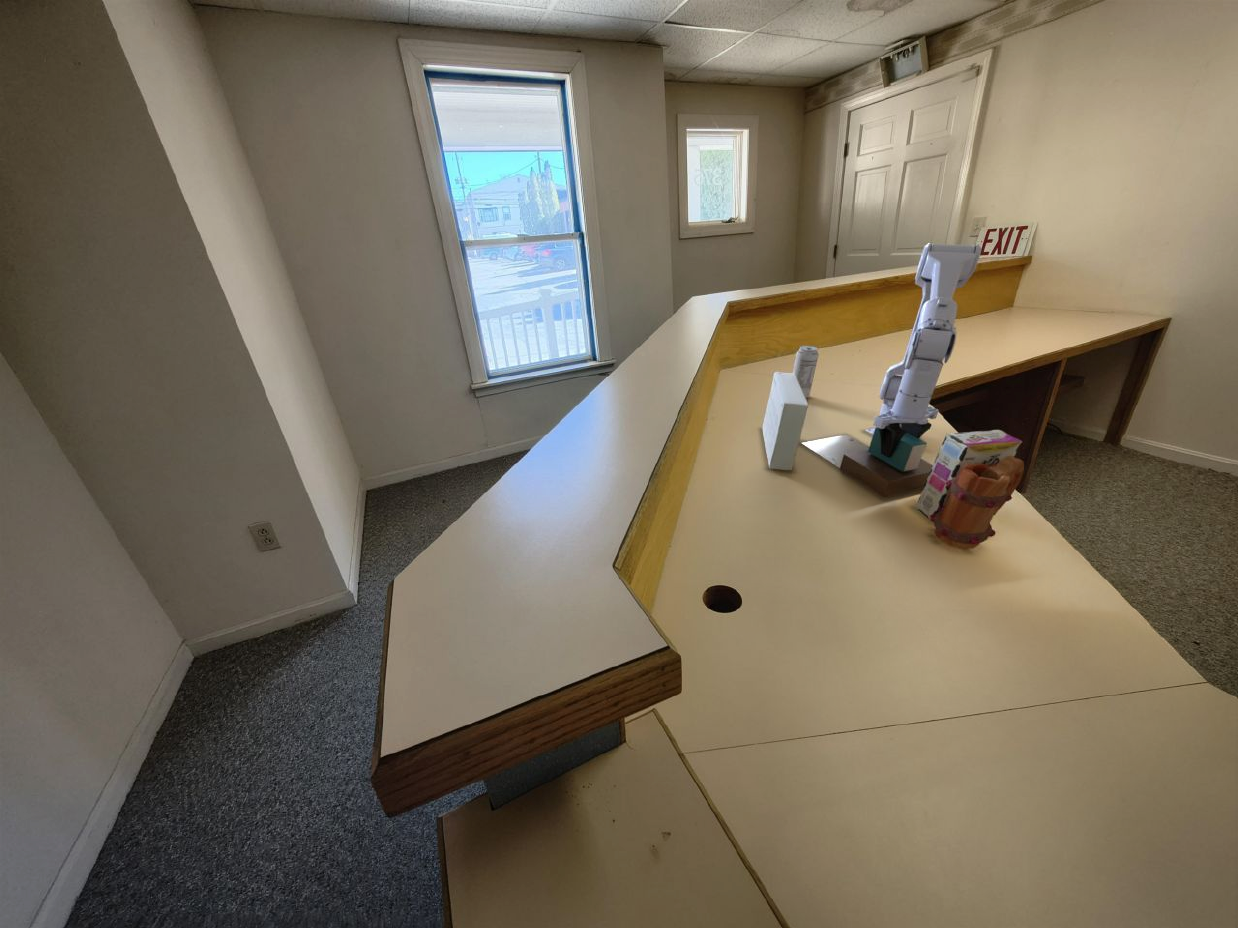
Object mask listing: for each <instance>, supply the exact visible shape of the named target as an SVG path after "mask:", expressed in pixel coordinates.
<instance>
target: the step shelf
mask: <svg viewBox="0 0 1238 928" xmlns="http://www.w3.org/2000/svg"><path fill="white" fill-rule="evenodd" d="M801 444H802V445H803V446H804V447H806V448H808V449H810V450H811V451H812V452H814V453H815V454H817V455H819V456H820V457H822V458H823V459H824V460H826V461H828V462H829V463H831V464H832V465H833V466H835V467H837V468H838V469H840V470H841V471H843V472H845V474H847V475H848V476H851V477H852V478H853V479H855V480H857V481H858V482H859V483H861V484H863V486H864V485H865V487H867V488H869V489H870V490H872V491H873V492H875V493H876V494H878V495H880V496H881V497H882V498H886V497H890V496H894V495H899V494H901V493H902V494H903V493H907V492H910V491H914V490H918V489H923V488H924V486H925V483H926V481H927V478H928V476H929V474H930V472H931V469H932V467H933V464H932V463H930V462H928V461H926V460H924V459H922V458H921V460H920V463H919V465H918V468H917V469H913V470H909V471H904V472H902V471H900V470H898V469H897V468H895V467H893V466H891V465H890V464H888V463H886V462H884V461H883V460H881V459H879V458H878V457H876V456H874V455H872V454H871V453H869V452H868V450H869V447H870V446H868V445H866V444H865V443H863V442H861V441H860V440H858V439H856V438H855V437H852V436H850V435H849V434H847V433H846V434H840V435H835V436H830V437H825V438H820V439H815V440H810V441H803V442H801Z"/></svg>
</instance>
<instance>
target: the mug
mask: <svg viewBox="0 0 1238 928" xmlns="http://www.w3.org/2000/svg"><path fill="white" fill-rule="evenodd" d="M1024 471H1025V463H1024V461H1023V460H1022V459H1020V458H1017V457H1015V456H1014V457H1013V456H1007V457H1005V458H1004V459H1003V460H1001V461H1000V462H999V463H998V464H997V465H996V466H992V467H988V466H987V465H986V464H982V463H974V464H973V465H971V464H966V465H965V466H964V467H963V468H962V470H961V472H960V474H959V476H957V477H955V478H954V479H953V480H948V481H947V482H946V485H947V486H948V487H949V488H950V491H951V493H950V496H949V499H948V501H947V504H946V506H945V508H944V509H943V510H941V511H939V512H938V513H937V514H932V515H930V519H931V520H932V521H931V520H930V521H931V522H932V523H933V525H934V528H935V530H934V535H935V537H936V538H937V539H938V540H939V541H941V542H942V543H944V544H946V545H948V546H950V547H952V548H956V549H960V550H964V551H965V550H972V549H975V548H977V547H978V546H979V545H980V544H982V543H984V542H985V541H987V540H988V539H989V538H991V537H994V536H995V535H996V531H995V530H994V529H993V526H992V524H991V522H992V519H993V518H994V516H996V515H997V513H998V512H999V511H1000V509H1001V508H1002V507H1003V506H1004V505H1005V504H1006V502H1009V501H1011V500H1012V499H1013V497H1012V495H1013V493H1014V492H1015V491H1016V489H1017V487H1018V486H1019V485H1020V483H1021V480H1022V477H1023V474H1024Z"/></svg>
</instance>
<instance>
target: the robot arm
mask: <svg viewBox="0 0 1238 928" xmlns="http://www.w3.org/2000/svg"><path fill="white" fill-rule="evenodd" d="M981 253H982V247H981V246H980V244H943V243H941V244H940V243H931V242H928V243H927V244H926V245H925V246H923V250H922V252H921V256H920V259H919V262H918V266H917V269H916V274H915V278H914V280H915V282H914V284H915V285H916V286H918V287H920V288H922V298H921V302H920V304H919V307H918V311H917V314H916V318H915V321H914V325H913V327H912V331H911V334H910V337H909V342H908V344H907V347H906V350H905V354H904V357H903V359H902V361H900V362H898V363H895V364H893V365H891V366H889V368H888V369H886V373H885V375H884V377H883V381H882V383H881V387H880V389H879V394H878V397H879V398H880V399H879V400H882V405H881V408H880V411H879V414H878V415H876V416H875V417H874V421H873V424H872V425H873V426H874V428H869V429H865V432H866V433H868V434H871V435H872V436H873V434H874V431H875V428H876V427H878V429H879V432H880V437H881V454H883V455H884V456H886V457H888V458H889V457H891V456H892V455H893V453H894V451H895V449H896V447H897V445H898V443H899V441H900V440H901V438H902V437H903V436H904V435H905V434H906V433H908V434H910V435H912V436H914V437H916V438H918V439H920V438H921V437H922V436H923V435H924V434H925V433H926V432H928V431H929V430H931V428H932V426H933V425H932V423H931V422H929V419H930V420H935V419H937V416H938V414H939V411H940V410H939V409H937V408H935V407H933V406H929V405H930V403H931V399H932V397H933V394H934V391H935V388H936V386H937V382H938V380H939V377H940V375H941V372H942V370H943V368H944V364H947V363H948V361H949V359H950V358H951V356H952V354H953V351H954V349H955V344H956V341H957V327H956V326H955V322H956V317H957V313H958V304H957V302H956V301H955V300H954V299H953V297H954V295H955V292H956V289H960V288H963V287H964V285H965V284H967V283H968V281H969V280H970V278H971V276H972V275H973V274H974V272H975V271H976V268H977V265H978V263H979V260H980V257H981Z"/></svg>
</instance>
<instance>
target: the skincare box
mask: <svg viewBox="0 0 1238 928" xmlns="http://www.w3.org/2000/svg"><path fill="white" fill-rule="evenodd" d="M807 401H808V400H807V399H805V397H804V394H803V392H802V390H801V387H800V385H799V383H798V380H797V378H796V376H795V374H794V373H793V372H781V371H774V372H773V377H772V383H771V387H770V391H769V396H768V401H767V404H766V411H765V415H764V420H763V423H762V424H763V425H762V429H761V430H762V435H763V441H764V447H765V452H766V457H767V463H768V469H771V470H779V471H780V470H781V471H792V470H793V466H794V463H795V459H796V455H797V451H798V446H799V443H800V440H801V439H800V438H801V435H802V431H803V428H804V423H805V419H806V416H807V412H808V408H809V403H808V402H807Z"/></svg>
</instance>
